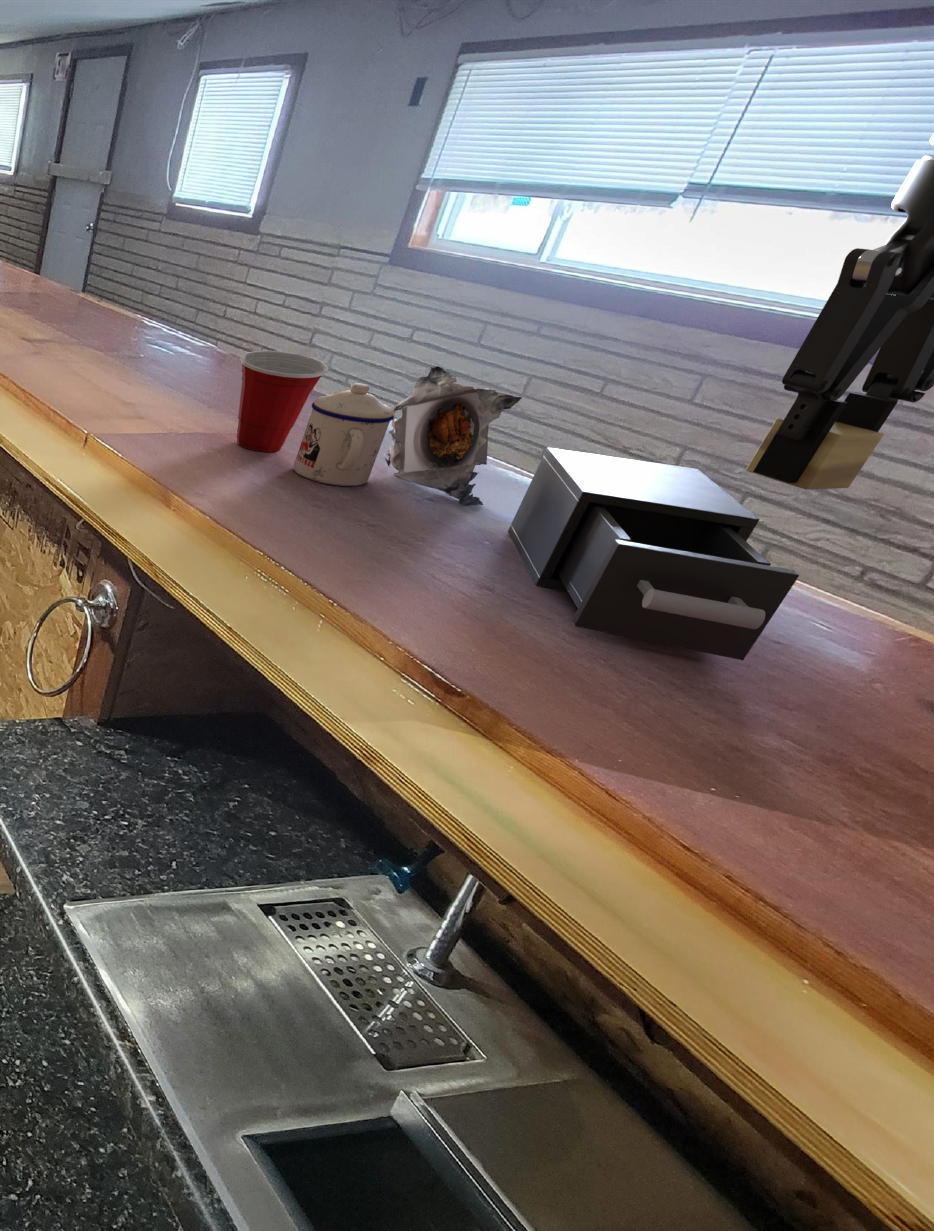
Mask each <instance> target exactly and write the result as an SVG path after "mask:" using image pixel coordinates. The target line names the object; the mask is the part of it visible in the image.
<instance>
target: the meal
mask: <svg viewBox="0 0 934 1231" xmlns="http://www.w3.org/2000/svg"><path fill="white" fill-rule="evenodd" d="M457 382H458V380H457V376H456V375H453V374H451V373H450V372H449V371H446V369H445V368H443V367H441V366H439V365H438V366H431V367H430V370H429V373H428V375H427V376H420V377H419V378H418V379H417V381H416V383H415V384H414V389H413V391H412V393H411V394H410V395H409V396H408V397H407V398H404V399H402V400H401V401H400V402H399V403H398V404H396V405H395V406H394V408H393V409H392V410H393V412H394V418H393V420H391V427H392V429H391V430H388V434H389V435H390V439H391V440H392V443H391V444H390V446H389V449H388V451H387V453H386V447H384V449H383V458H384V460H385V462H386V464H387V466H388V468H394V469H396V470H397V472H394V473H393V476H396V477H398V478H400V479H402V480H405V481H407V482H410V483H412V484H415V485H419V486H421V487H425V488H427V487H428V488H431V489H436V490H438V491H441V492H443V493H444V494H446V495H447V496H450V497H452V498H455V499H457V500H458V503H459V505H462V506H477V505H480V506H484V503H483V502H482V501H481V499H480V497H478V496H474V494H473V492H472V491H473V489H474V488H475V486H476V485H477V483H472V484H471V482H472V481H473V480H474V479H475V478H476V477H477V476H478V474H479V473H480V471H478V472H477V471H475V467H476V466H481V465H488V446H489V445H488V444H489V436H488V435H489V431H490V430H489V427H490V424H491V423H492V422H493V421H495V420H497V419H500V417H501V414H502V413H503V412H504V411H505V410H511V409H512V408H513V407H514V406H515V405H516V404H517V403H519V402H520V401H521V400H522V398H523V396H516V395H511V394H507V393H503V392H499V391H497V390H496V389H492V388H475V387H474V386H467V385H461V384H459V383H457ZM396 411H401V417H400V418H398V419H396V420H395V418H396V417H395V413H397V412H396ZM386 455H387V456H388V458H386V457H385V456H386Z"/></svg>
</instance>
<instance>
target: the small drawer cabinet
mask: <svg viewBox="0 0 934 1231" xmlns="http://www.w3.org/2000/svg"><path fill="white" fill-rule="evenodd" d="M589 502H591V503H597V504H604V505H610V506H616V507H622V508H628V509H635V510H641V511H647V512H653V513H660V514H666V515H672V516H678V517H684V518H691V519H697V520H703V521H709V522H715V523H722V524H727V525H728V526H729V527H730V528H731V529H732V530H734V531H735V532H736V533H737V534H738V535H739V536H740V537H741V538H743V539H744V540H745V541H746V542H747V541H748V540H749V538H750V536H751V535H752V533H753V531H754V530H755V528H756V527H757V525H758V523H759V522H760V518H759V517H757V516H756V515H755V514H754V513H752V512H751V511H750V510H749V509H748V508H746V506H744V505H743V504H742V503H740V502H739V501H738V500H736V499H735V498H734V497H733V496H731V495H730V494H729V493H728V492H727V491H725V490H724V489H723V488H722V487H721V486H719V485H718V484H717V483H716V482H715V481H713V480H712V479H711V478H709V476H708V475H706V474H705V473H703V472H702V471H701V470H700V469H698V468H694V467H686V466H679V465H672V464H665V463H659V462H651V461H644V460H638V459H637V460H636V459H631V458H623V457H618V456H609V455H603V454H596V453H589V452H581V451H576V450H570V449H569V450H568V449H562V448H555V447H549V446H547V447H546V449H545V451H544V453H543V456H542V457H541V460H540V462H539V464H538V466H537V468H536V471H535V473H534V475H533V477H532V479H531V481H530V482H529V486H528V487H527V489H526V491H525V494H524V496H523V498H522V500H521V502H520V505H519V506H518V509H517V511H516V513H515V514H514V517H513V519H512V522H511V524H510V526H509V527H508V530H507V534H508V536H509V537H510V539H511V541H512V544H514V547H515V549H516V550H517V552H518V554H519V556H520V558H521V560H522V562H523V564H524V566H525V567H526V569H527V572H528V573H529V575H530V577H531V578H532V580H533V583H534V584H535V586H537V587H543V588H547V589H553V590H558V591H563V592H568V591H567V589H566V587H565V586H564V584H563V582H562V581H561V579H560V577H559V576H558V574H557V572H556V571H555V570H556V568H557V566H558V564H559V562H560V560H561V558H562V556H563V554H564V552H565V550H566V548H567V546H568V544H569V542H570V540H571V538H572V536H573V534H574V532H575V530H576V528H577V526H578V524H579V523H580V521H581V519H582V517H583V515H584V513H585V511H586V509H587V507H588V505H589Z"/></svg>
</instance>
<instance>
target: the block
mask: <svg viewBox="0 0 934 1231" xmlns="http://www.w3.org/2000/svg"><path fill="white" fill-rule="evenodd" d="M784 419H785V417H777V418H776V419H775V421H774V422H773V424H772V426H771V427H770V429H769V431H768V432H767V434H766V435H765V437H764V439H763V441H762V442H761V443H760V445H759V447H758V448H757V450H756V452H755V453H754V455H753V457H752V459H751V461H750V462H749V464H748V466H747V467H746V469H745V471H746V472H749V473H751V474H755V475H758V476H761V477H765V478H767V479H771V480H774V481H776V482H777V481H778V482H781V483H783V484H787V485H790V486H793V487H796V488H799V489H803V490H805V491H806V490H828V489H829V490H831V489H849V488H850V487H851V485H852V483H853V482H854V480H855V479H856V477H857V476H858V474H859V473H860V471H861V470H862V468H863V466H864V465H865V464H866V462H867V461H868V460H869V459H870V457H871V455H872V453H873V452H874V451H875V449H876V447H877V446H878V444H879V443H880V442H881V440H882V439H883V437H884V435H885V433H883V432H880V431H878V432H875V431H871V430H867V429H863V428H859V427H855V426H852V425H848V424H844V423H840V422H835V423H834V425H833V426H832V428H831V430H830V431H829V432H828V434H827V435H826V437H825V439H824V440H823V442H822V443H821V445H820V447H819V448H818V450H817V451H816V453H815V454H814V456H813V458H812V459H811V461H810V462H809V464H808V466H807V467H806V469H805V470H804V472H803V474H802V475H801V477H800V478H799V480H798V482H797V483H787V482H784V481H781V480H778V479H774V478H771V477H768V476H765V475H761V474H758V473H755V472H753V471H754V469H755V467H756V466H757V464H758V462H759V461H760V459H761V457H762V456H763V454H764V452H765V451H766V449H767V447H768V446H769V444H770V442H771V441H772V439H773V437H774V436H775V434H776V432H777V431H778V429H779V427H780V425H781V424H782V422H783V420H784Z"/></svg>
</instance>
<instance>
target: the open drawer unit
mask: <svg viewBox="0 0 934 1231" xmlns="http://www.w3.org/2000/svg"><path fill="white" fill-rule="evenodd" d="M555 571H556V572H557V574H558V576H559V577H560V579H561V581H562V582H563V584H564V586H565V587H566V589H567V591H566V592H567V593H568V595H570V597H571V599H572V601H573V602H574V604H575V606H576V608H577V609H576V612H575V613H574V614H573V617H572V619H571V622H572V624H573V626H574V627H576V628H577V627H578V628H582V629H586V630H587V629H588V630H592V631H595V632H596V631H597V632H601V633H607V634H612V635H617V636H621V637H627V638H632V639H635V640H636V639H637V640H641V641H645V642H651V643H655V644H660V645H666V646H670V647H675V648H681V649H686V650H691V651H696V652H700V653H705V654H710V655H715V656H720V657H724V658H729V659H734V660H739V661H744V660H745V659H746V657H747V656H748V654H749V652H750V651H751V649H753V647H754V645H755V643H756V642H757V640H758V639H759V637H760V636H761V634H762V633H763V631H764V630H765V628H766V627H767V625H768V624H769V622H770V621H771V619H773V616H774V615H775V613H776V612H777V610H778V609H779V608H780V606H781V604H782V603H783V601H784V599H785V598H786V597H787V595H788V594H789V592H790V591H791V589H792V588H793V586H794V585H795V583H796V581H797V580H798V578H799V577H800V574H799V573H798V572H797V571H795V570H794V569H791V568H785V567H778V566H773V565H772V563H771V562H770V561H768V560H767V558H765V557H764V556H763V555H762V554H761V553H760V552H758V551H757V550H756V549H755V548H754V547H753V546H752V545H751V544H750V543H748V542H747V541H745V540H744V539H743V538H741V537H740V536H739V535H738V534H737V533H736V532H735V531H734V530H732V529H731V528H730V527H729V526H728V525H727V524H722V523H715V522H709V521H703V520H697V519H691V518H684V517H678V516H672V515H666V514H660V513H653V512H647V511H641V510H635V509H628V508H622V507H616V506H610V505H604V504H597V503H591V502H589V505H588V507H587V509H586V511H585V513H584V515H583V517H582V519H581V521H580V523H579V524H578V526H577V528H576V530H575V532H574V534H573V536H572V538H571V540H570V542H569V544H568V546H567V548H566V550H565V552H564V554H563V556H562V558H561V560H560V562H559V564H558V566H557V568H556V570H555Z"/></svg>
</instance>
